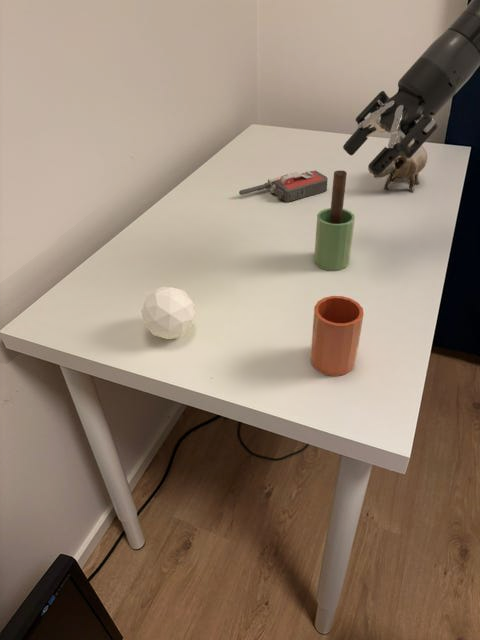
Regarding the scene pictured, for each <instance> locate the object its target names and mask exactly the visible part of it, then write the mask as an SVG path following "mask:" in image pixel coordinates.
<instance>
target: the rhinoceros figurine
mask: <svg viewBox="0 0 480 640" xmlns="http://www.w3.org/2000/svg"><path fill="white" fill-rule="evenodd" d="M413 143H414V139H413V140H412V141H411V142H410V143H409V144H408V146H409V147H410V146H411V145H412V144H413ZM427 162H428V152H427V150H426V148H425V147H424V146H423V144H422V145H421V147H420V148H419V149H418V150H417V151H416V152H415V153H414V154H413V156H412V157H410V158H406V157H405V156H401V157H396V158H395V159H394V160H393V161H392V162H391V163H390V165H388V167H387V168H386V169H385V170H384V171H383V172H381V173H380V174H379V175H375V174H374V173H373V172H372V171H371V170H370V169H369V168H368V167H367V170H368V173H369V174H371V175H372V176H373V178H385V177H386V176H388V177H387V178H386V180H385V183H384V187H383V189H384V191H387V192H388V191H390V189H389V186H390V184H391V183H401V182H405V181H407V180H408V181H409V185H408V191H409V192H412V193H414V192H415V186H419V185H421V182H420V179H419V173H420V172H421V171H423V170H424V168H426V165H427Z"/></svg>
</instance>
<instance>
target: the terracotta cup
mask: <svg viewBox="0 0 480 640" xmlns="http://www.w3.org/2000/svg"><path fill="white" fill-rule="evenodd" d="M364 314H365V313H364V308H363V307H362V306H361V304H360V303H359V302H357V300H354V299H352V298H350V297H346V296H343V295H331V296H325V297H323V298H321V299H320V300H317V302H316V304H315V305H314V307H313V318H312V319H313V320H312V333H311V343H310V364H311V365H312V367H313V368H314V369H315V370H317V372H319V373H321V374H323V375H327V376H330V377H331V376H332V377H341V376H344V375H346V374H347V375H348V373H350V372H351V371H352V370H353V369H354V368H355V366H356V361H357V357H358V350H359V345H360V339H361V333H362V326H363V320H364Z"/></svg>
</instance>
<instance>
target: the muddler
mask: <svg viewBox="0 0 480 640" xmlns="http://www.w3.org/2000/svg"><path fill="white" fill-rule="evenodd" d="M347 174H348V173H347V171H345V170H334V172H333V180H332V188H331V189H332V191H331V202H330V208H331V211H330V221H329V223H332V224H341V221H342V212H343V209H344V203H345V202H344V201H345V192H346V185H347Z"/></svg>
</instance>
